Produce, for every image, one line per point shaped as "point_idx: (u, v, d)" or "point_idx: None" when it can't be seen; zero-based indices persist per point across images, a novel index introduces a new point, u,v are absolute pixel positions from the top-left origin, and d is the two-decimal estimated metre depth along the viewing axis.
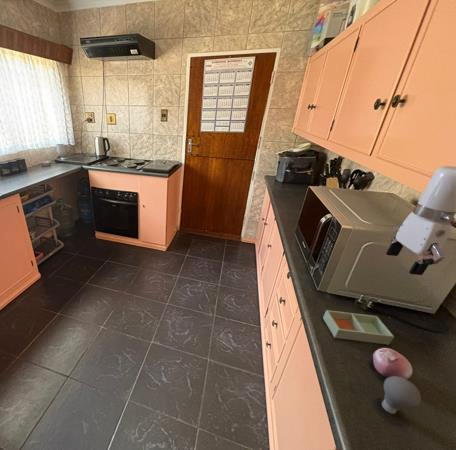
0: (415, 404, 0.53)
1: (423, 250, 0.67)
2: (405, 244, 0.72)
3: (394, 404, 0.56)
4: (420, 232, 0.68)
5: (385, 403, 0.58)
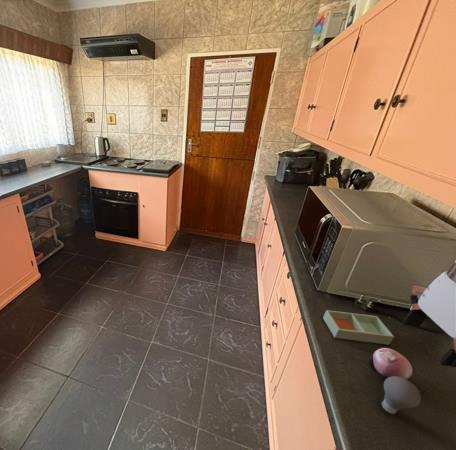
0: (415, 404, 0.53)
1: None
2: (433, 318, 0.49)
3: (394, 404, 0.56)
4: None
5: (385, 403, 0.58)
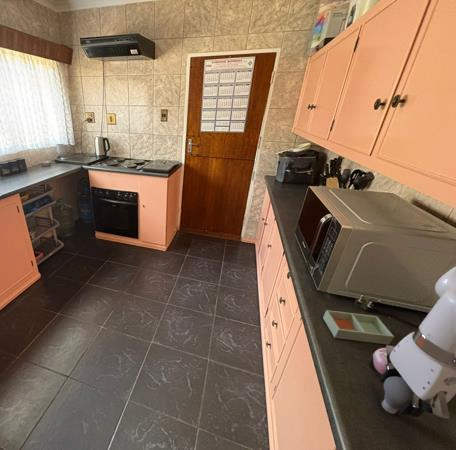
0: None
1: (427, 397, 0.49)
2: (402, 375, 0.54)
3: (394, 404, 0.56)
4: (423, 371, 0.49)
5: (385, 403, 0.58)
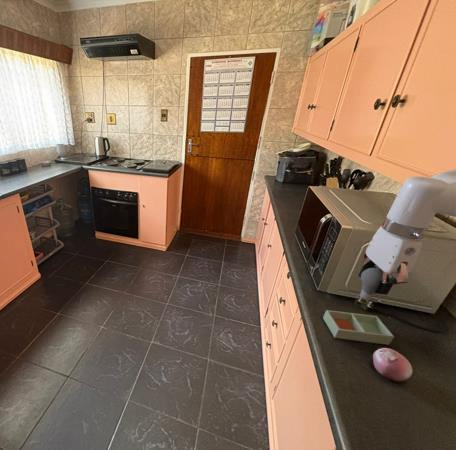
0: None
1: (392, 269, 0.61)
2: (375, 261, 0.66)
3: (369, 289, 0.68)
4: (389, 250, 0.61)
5: (362, 292, 0.70)
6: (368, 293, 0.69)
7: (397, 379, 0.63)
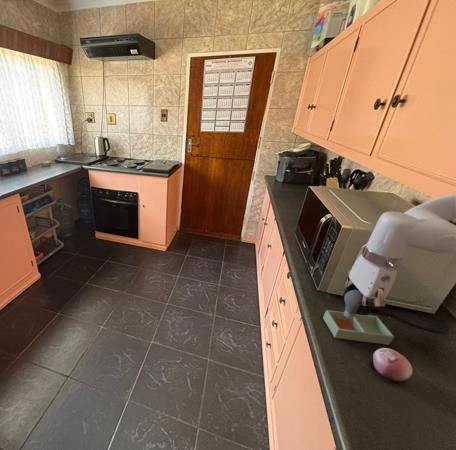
0: None
1: (370, 294, 0.67)
2: (356, 285, 0.72)
3: (351, 309, 0.74)
4: (368, 276, 0.67)
5: (345, 312, 0.76)
6: (351, 313, 0.75)
7: (397, 379, 0.63)
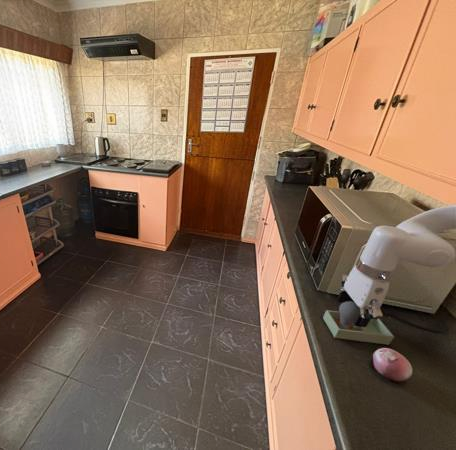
0: None
1: (364, 305, 0.69)
2: (350, 295, 0.74)
3: (346, 320, 0.76)
4: (362, 287, 0.69)
5: (340, 322, 0.79)
6: (345, 324, 0.77)
7: (397, 379, 0.63)
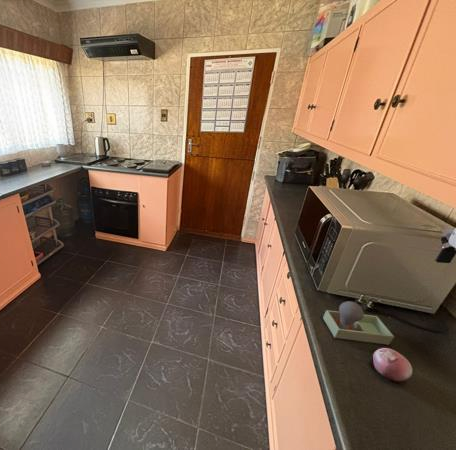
0: (359, 317, 0.73)
1: None
2: None
3: (346, 320, 0.76)
4: None
5: (340, 322, 0.79)
6: (345, 324, 0.77)
7: (397, 379, 0.63)
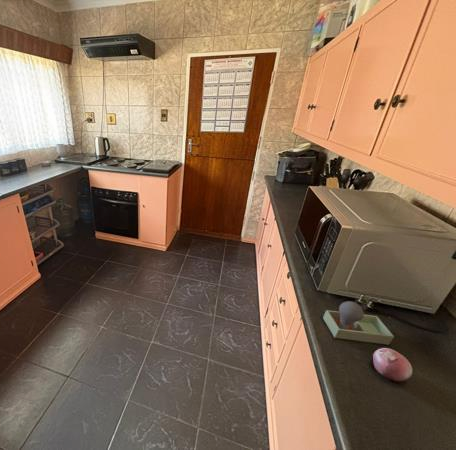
0: (359, 317, 0.73)
1: None
2: None
3: (346, 320, 0.76)
4: None
5: (340, 322, 0.79)
6: (345, 324, 0.77)
7: (397, 379, 0.63)
